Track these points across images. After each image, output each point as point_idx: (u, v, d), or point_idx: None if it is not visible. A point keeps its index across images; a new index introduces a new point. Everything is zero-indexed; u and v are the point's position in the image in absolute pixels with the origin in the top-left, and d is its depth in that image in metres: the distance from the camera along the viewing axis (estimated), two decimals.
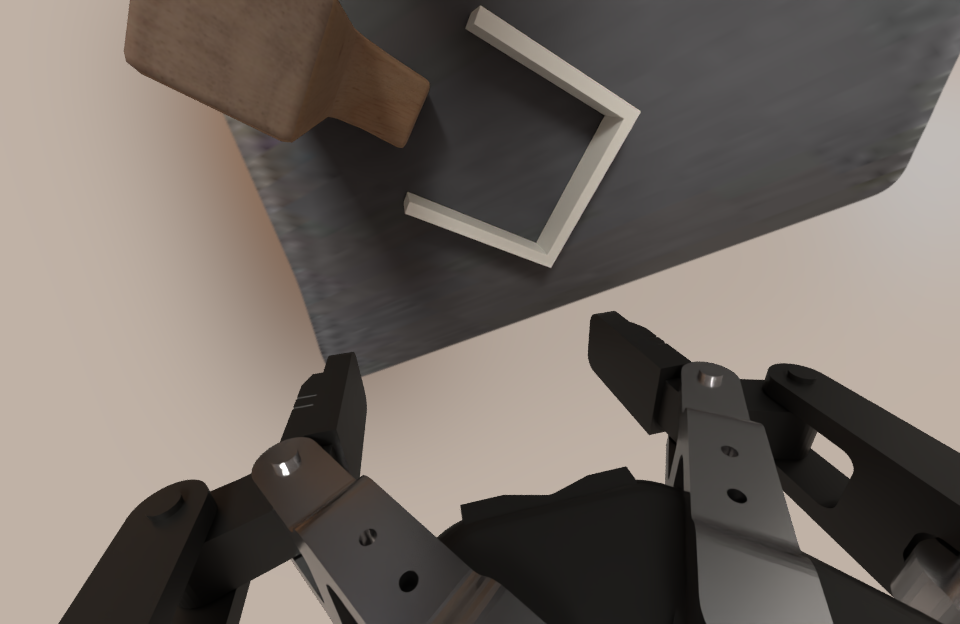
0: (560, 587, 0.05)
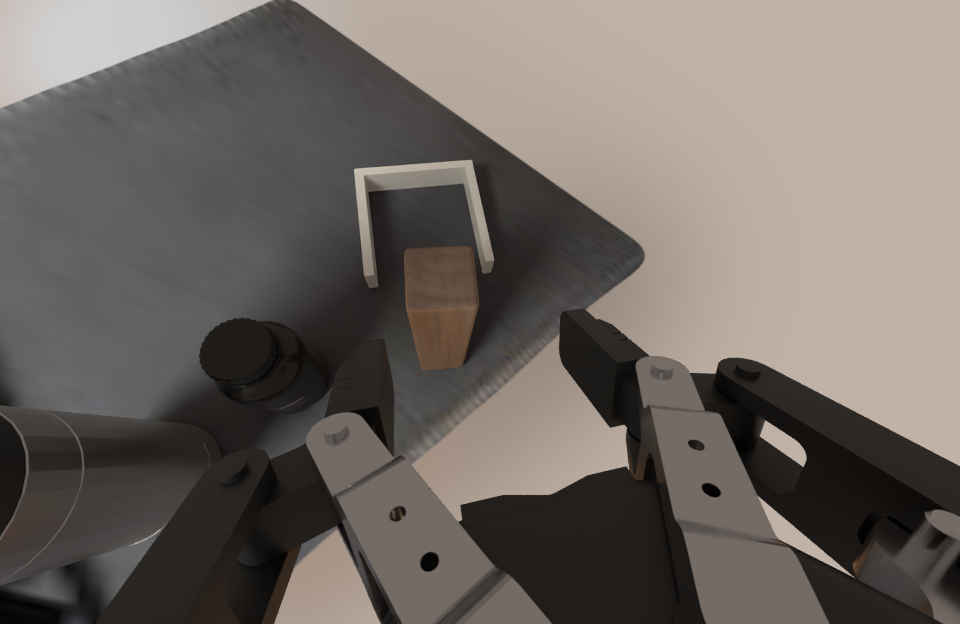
0: (560, 587, 0.05)
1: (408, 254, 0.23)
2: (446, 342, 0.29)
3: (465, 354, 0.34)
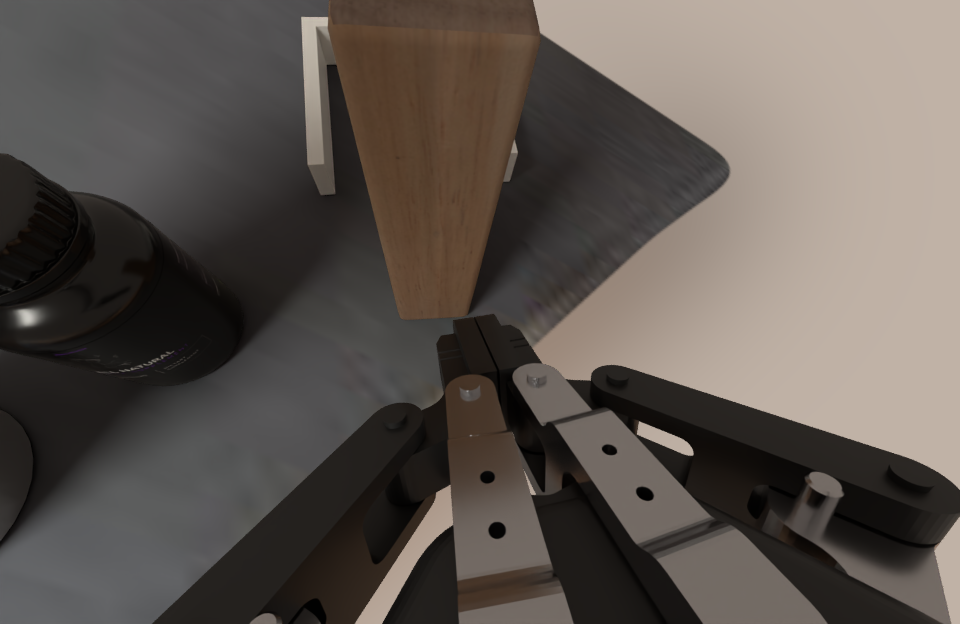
0: None
1: None
2: (442, 229, 0.14)
3: (475, 280, 0.19)
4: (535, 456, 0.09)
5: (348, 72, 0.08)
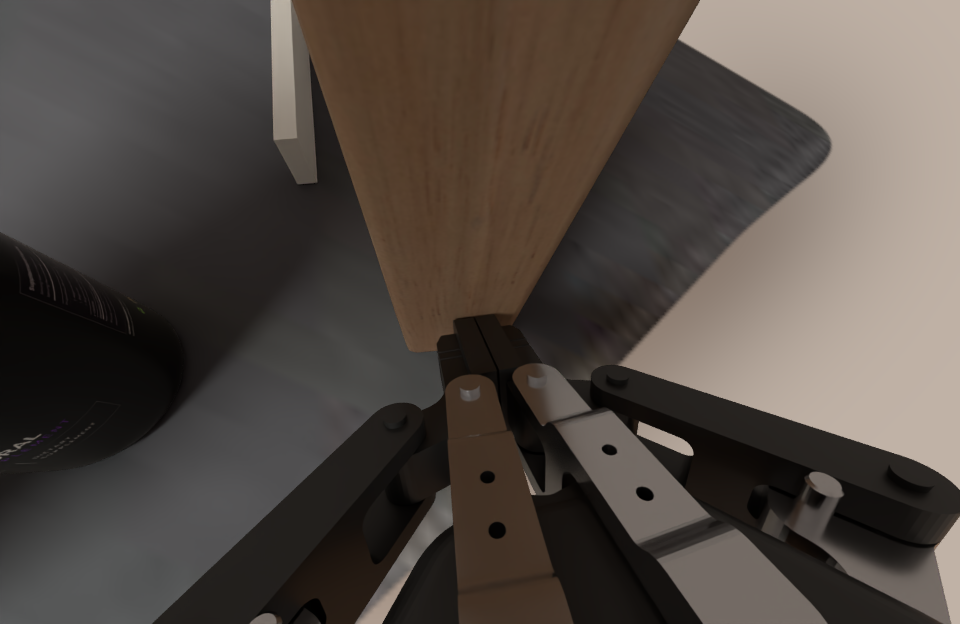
0: None
1: None
2: (490, 214, 0.07)
3: (526, 299, 0.12)
4: (535, 456, 0.09)
5: None
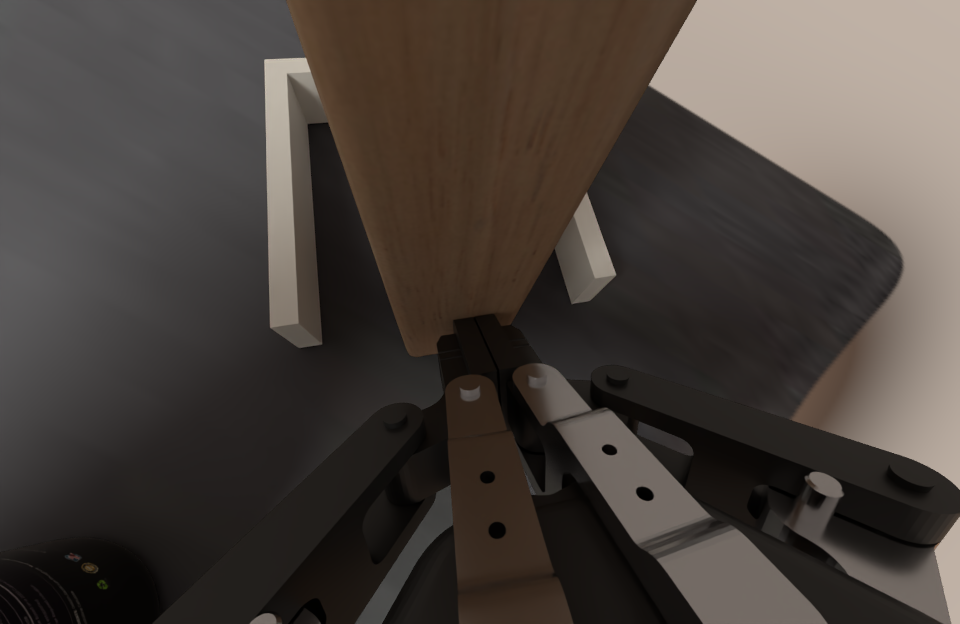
0: None
1: None
2: (494, 214, 0.07)
3: (526, 295, 0.12)
4: (535, 456, 0.09)
5: None
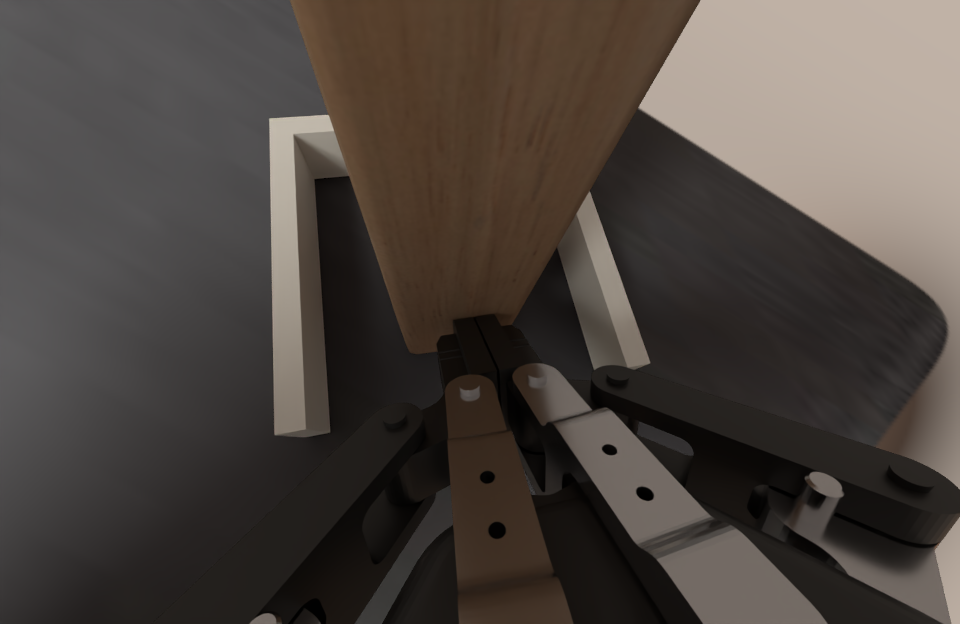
0: None
1: None
2: (494, 212, 0.07)
3: (527, 296, 0.12)
4: (535, 456, 0.09)
5: None
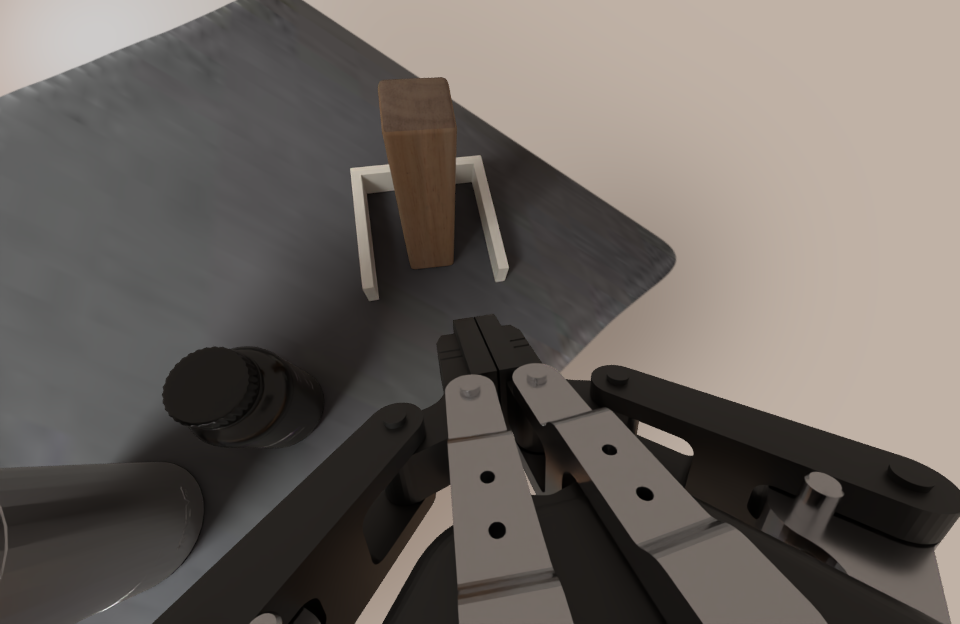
0: None
1: (382, 84, 0.23)
2: (430, 205, 0.29)
3: (453, 236, 0.34)
4: (535, 456, 0.09)
5: (389, 145, 0.23)
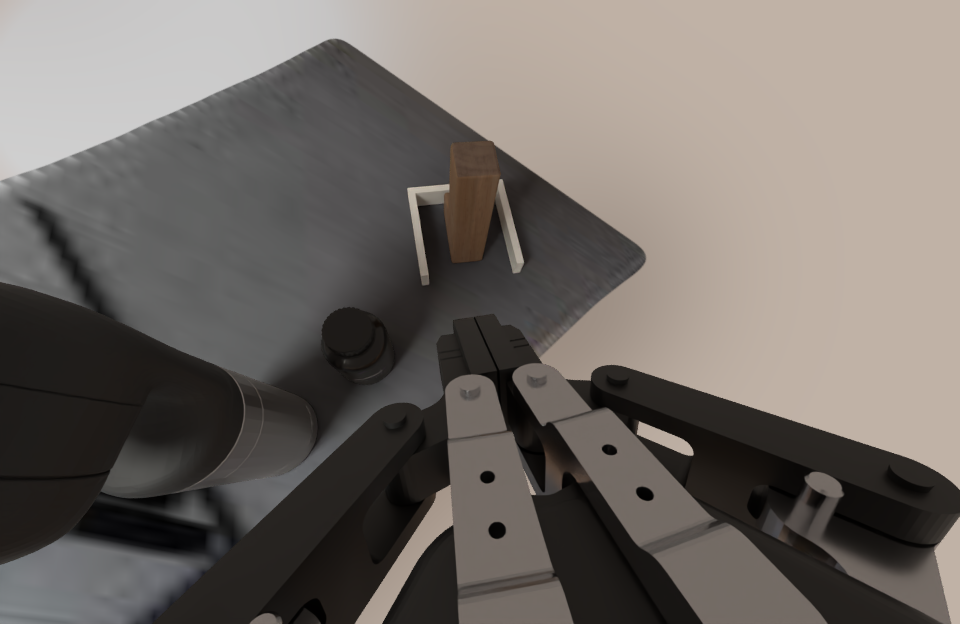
0: None
1: (454, 145, 0.37)
2: (475, 219, 0.43)
3: (485, 240, 0.48)
4: (535, 456, 0.09)
5: (458, 184, 0.36)
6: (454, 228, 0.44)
